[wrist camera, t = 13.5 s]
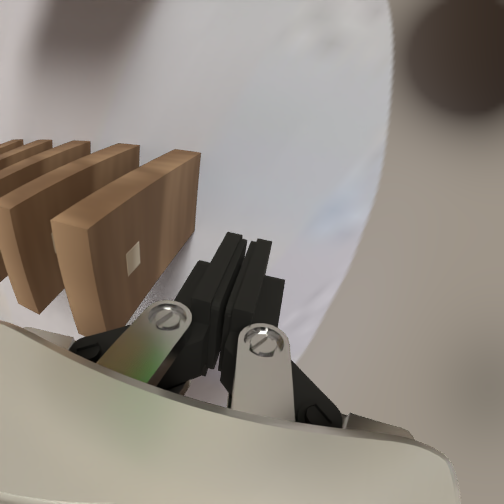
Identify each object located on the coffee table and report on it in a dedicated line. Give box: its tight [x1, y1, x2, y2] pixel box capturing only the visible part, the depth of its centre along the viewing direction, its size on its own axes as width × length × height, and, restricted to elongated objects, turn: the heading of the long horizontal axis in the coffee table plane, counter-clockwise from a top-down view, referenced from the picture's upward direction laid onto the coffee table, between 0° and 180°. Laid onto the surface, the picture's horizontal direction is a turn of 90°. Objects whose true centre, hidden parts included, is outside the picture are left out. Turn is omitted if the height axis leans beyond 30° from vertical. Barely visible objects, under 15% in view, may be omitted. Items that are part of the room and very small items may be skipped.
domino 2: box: [0, 141, 90, 282], centre depth 14 cm, size 2×5×10 cm, turn 171°
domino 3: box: [0, 143, 140, 315], centre depth 13 cm, size 2×5×10 cm, turn 171°
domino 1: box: [0, 140, 52, 170], centre depth 14 cm, size 2×5×10 cm, turn 171°
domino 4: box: [50, 149, 201, 337], centre depth 13 cm, size 2×5×10 cm, turn 171°
